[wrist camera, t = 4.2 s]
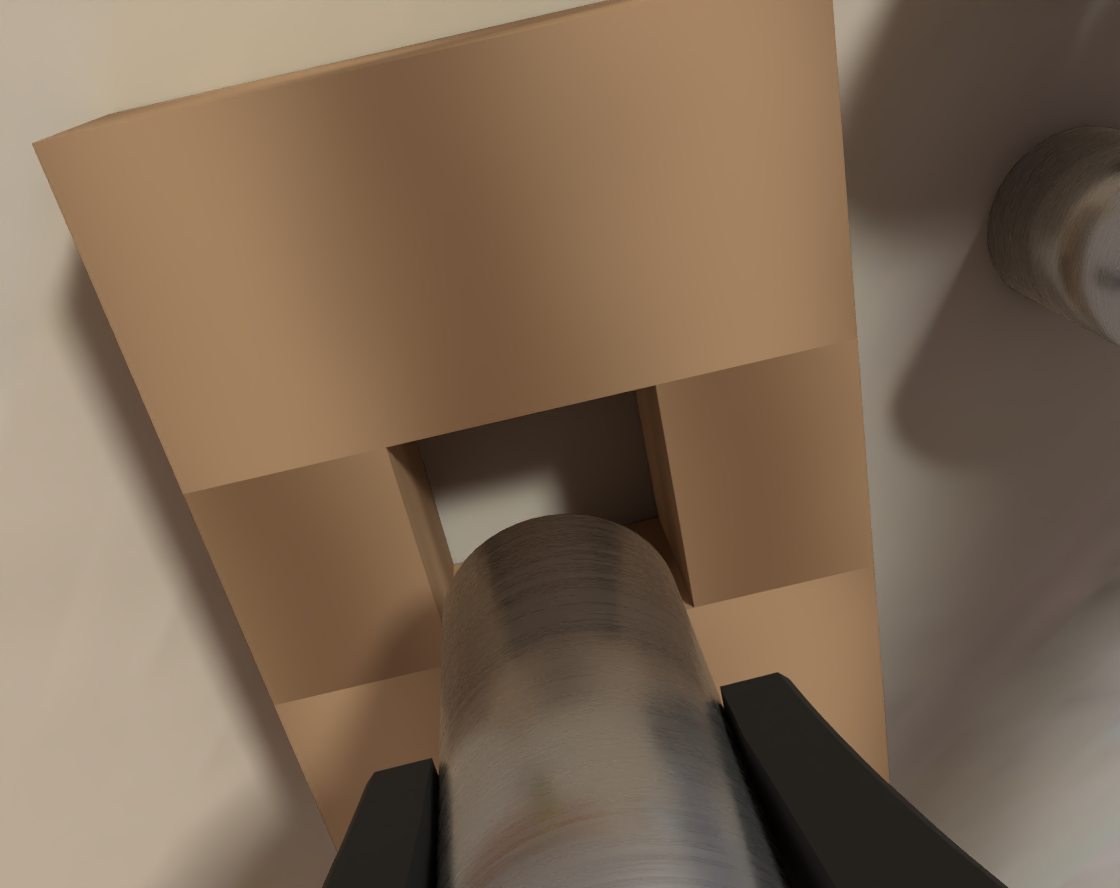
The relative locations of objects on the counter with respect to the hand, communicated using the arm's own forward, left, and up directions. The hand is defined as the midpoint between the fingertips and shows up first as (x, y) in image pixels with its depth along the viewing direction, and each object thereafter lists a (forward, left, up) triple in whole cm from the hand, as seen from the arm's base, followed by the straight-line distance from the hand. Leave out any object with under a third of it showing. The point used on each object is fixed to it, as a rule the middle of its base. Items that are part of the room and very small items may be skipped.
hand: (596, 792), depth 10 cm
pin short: (-10, -2, -8) cm, 13 cm away
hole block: (0, 0, -8) cm, 8 cm away
